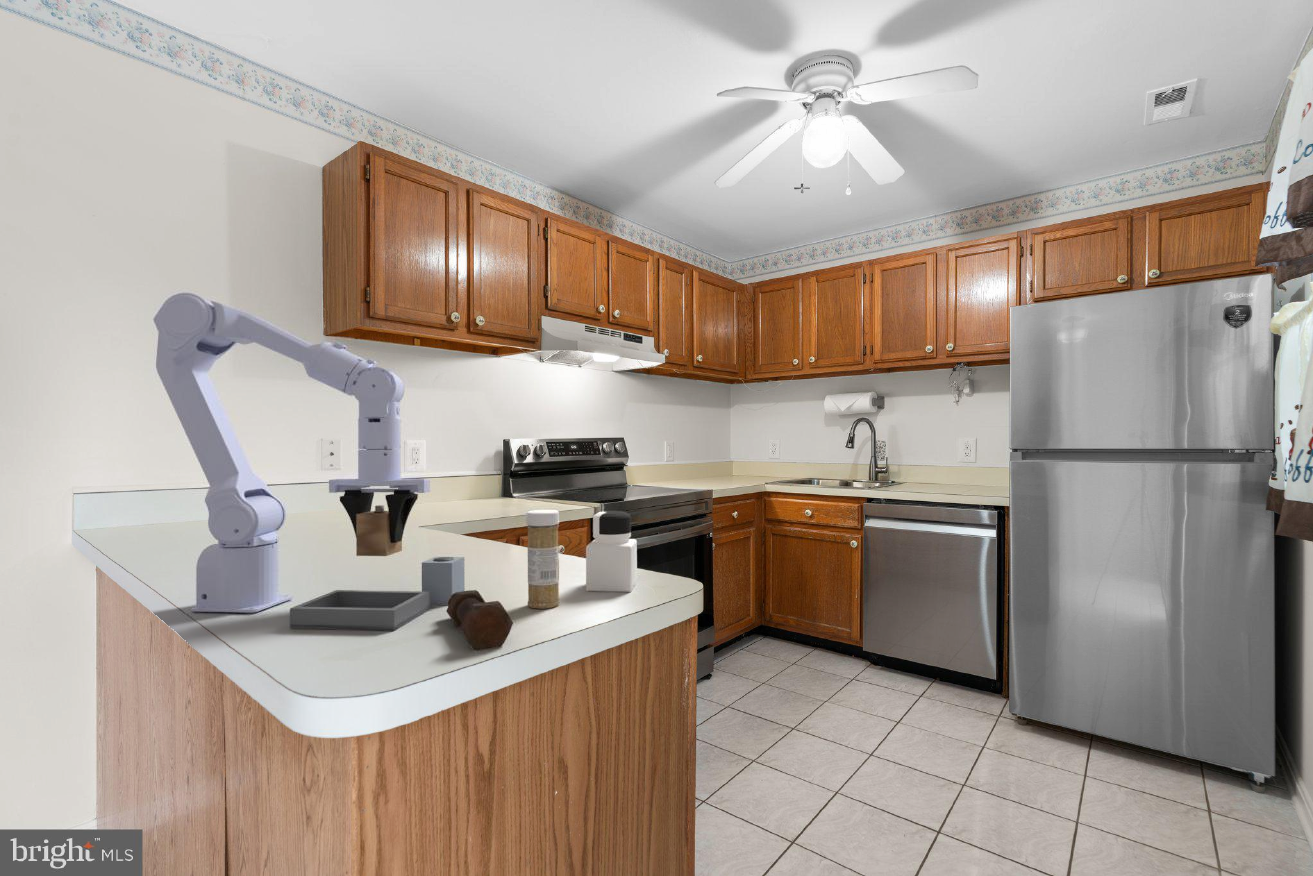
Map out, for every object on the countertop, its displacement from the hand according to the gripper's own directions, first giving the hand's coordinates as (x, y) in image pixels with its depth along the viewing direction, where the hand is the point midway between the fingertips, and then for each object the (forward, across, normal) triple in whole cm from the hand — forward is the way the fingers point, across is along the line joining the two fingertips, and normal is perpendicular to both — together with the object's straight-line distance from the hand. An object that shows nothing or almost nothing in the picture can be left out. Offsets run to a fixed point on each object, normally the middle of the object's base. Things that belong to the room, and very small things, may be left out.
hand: (379, 541), depth 91 cm
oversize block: (+9, -10, -1) cm, 13 cm away
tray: (+9, -3, +9) cm, 13 cm away
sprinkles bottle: (+9, -25, +1) cm, 27 cm away
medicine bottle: (+9, -33, -11) cm, 36 cm away
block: (+2, 0, 0) cm, 2 cm away
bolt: (+9, -20, +14) cm, 25 cm away
